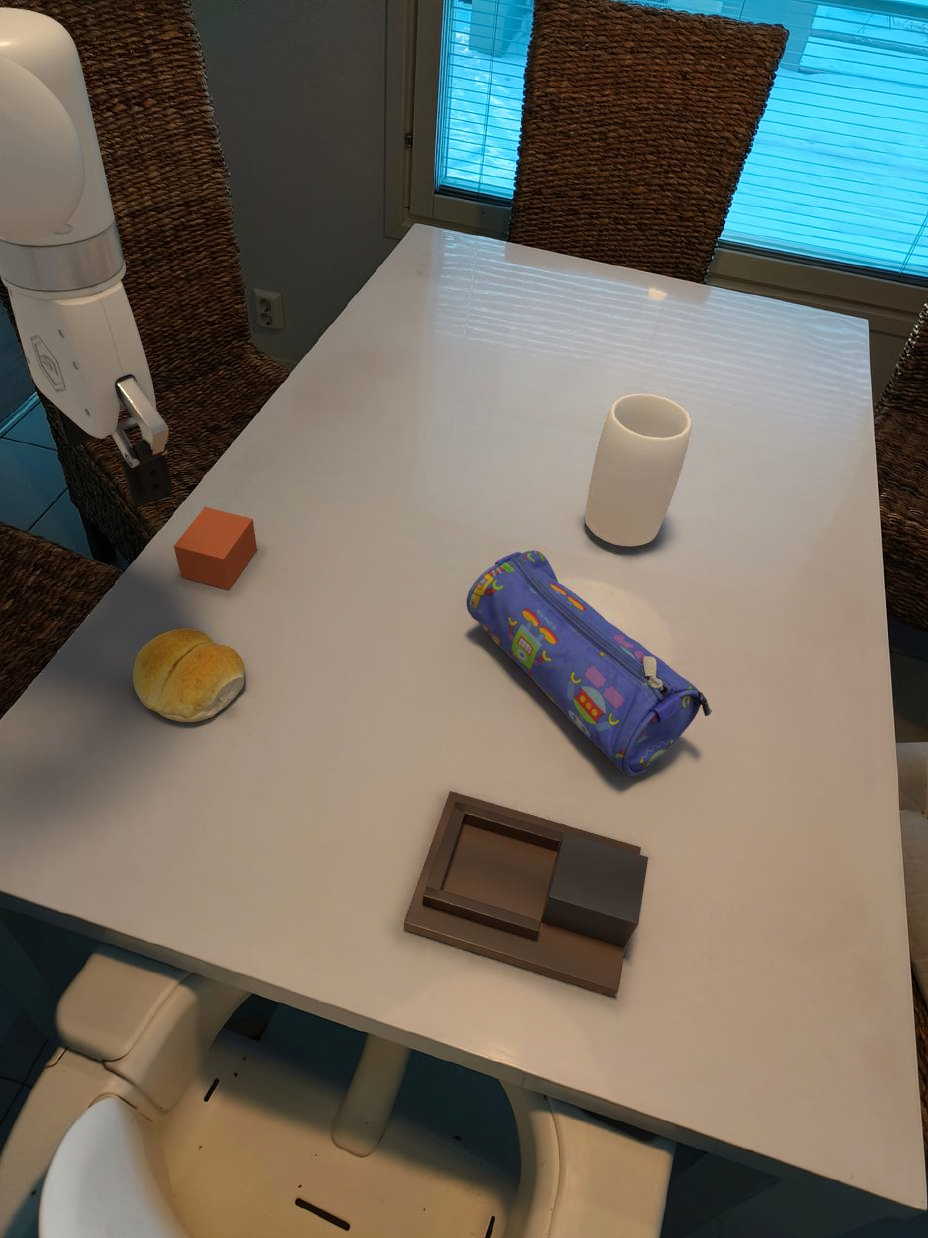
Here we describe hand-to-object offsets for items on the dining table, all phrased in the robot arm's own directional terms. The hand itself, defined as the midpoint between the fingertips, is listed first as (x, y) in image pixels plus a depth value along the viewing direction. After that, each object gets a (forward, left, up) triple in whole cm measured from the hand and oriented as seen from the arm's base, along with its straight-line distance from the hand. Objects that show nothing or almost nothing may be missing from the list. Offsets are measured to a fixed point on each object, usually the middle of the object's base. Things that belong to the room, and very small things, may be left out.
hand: (119, 467), depth 66 cm
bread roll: (-1, -10, -16) cm, 19 cm away
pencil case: (+27, -27, -16) cm, 41 cm away
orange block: (+7, +2, -16) cm, 17 cm away
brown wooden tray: (+13, -40, -16) cm, 45 cm away
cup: (+45, -13, -16) cm, 49 cm away
